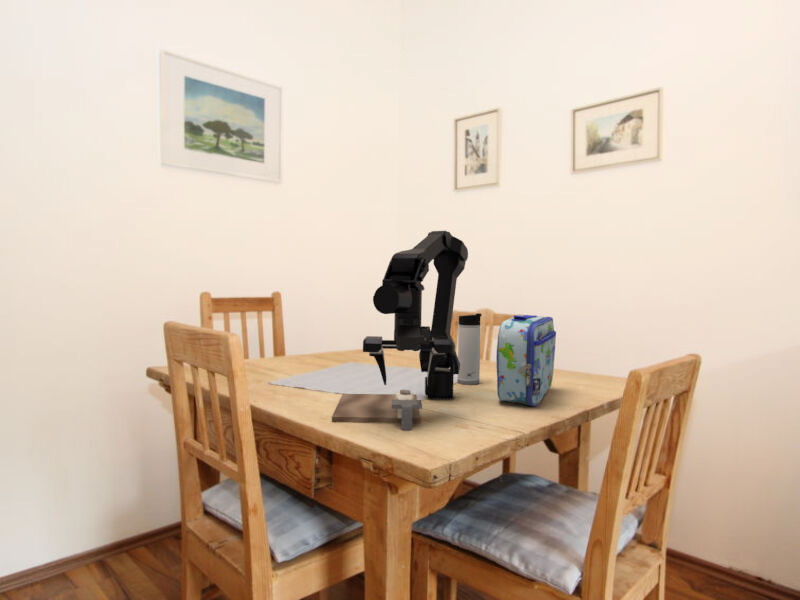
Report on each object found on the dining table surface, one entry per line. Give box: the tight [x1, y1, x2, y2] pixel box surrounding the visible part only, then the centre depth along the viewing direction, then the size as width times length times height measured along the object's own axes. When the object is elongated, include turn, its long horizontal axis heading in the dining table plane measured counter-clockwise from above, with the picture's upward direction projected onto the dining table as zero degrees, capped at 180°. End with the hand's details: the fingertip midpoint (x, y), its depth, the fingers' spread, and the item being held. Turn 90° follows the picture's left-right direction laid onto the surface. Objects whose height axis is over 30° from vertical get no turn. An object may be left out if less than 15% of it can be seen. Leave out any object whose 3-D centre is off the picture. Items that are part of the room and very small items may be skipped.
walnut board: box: [331, 389, 422, 424], centre depth 110 cm, size 18×21×4 cm
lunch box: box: [495, 314, 557, 407], centre depth 123 cm, size 26×11×21 cm, turn 153°
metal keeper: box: [391, 399, 423, 431], centre depth 97 cm, size 6×6×4 cm
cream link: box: [395, 391, 415, 418], centre depth 106 cm, size 15×4×2 cm, turn 179°
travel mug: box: [456, 312, 482, 386], centre depth 140 cm, size 6×7×20 cm
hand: (406, 385), depth 105 cm, fingers open, 9 cm apart
